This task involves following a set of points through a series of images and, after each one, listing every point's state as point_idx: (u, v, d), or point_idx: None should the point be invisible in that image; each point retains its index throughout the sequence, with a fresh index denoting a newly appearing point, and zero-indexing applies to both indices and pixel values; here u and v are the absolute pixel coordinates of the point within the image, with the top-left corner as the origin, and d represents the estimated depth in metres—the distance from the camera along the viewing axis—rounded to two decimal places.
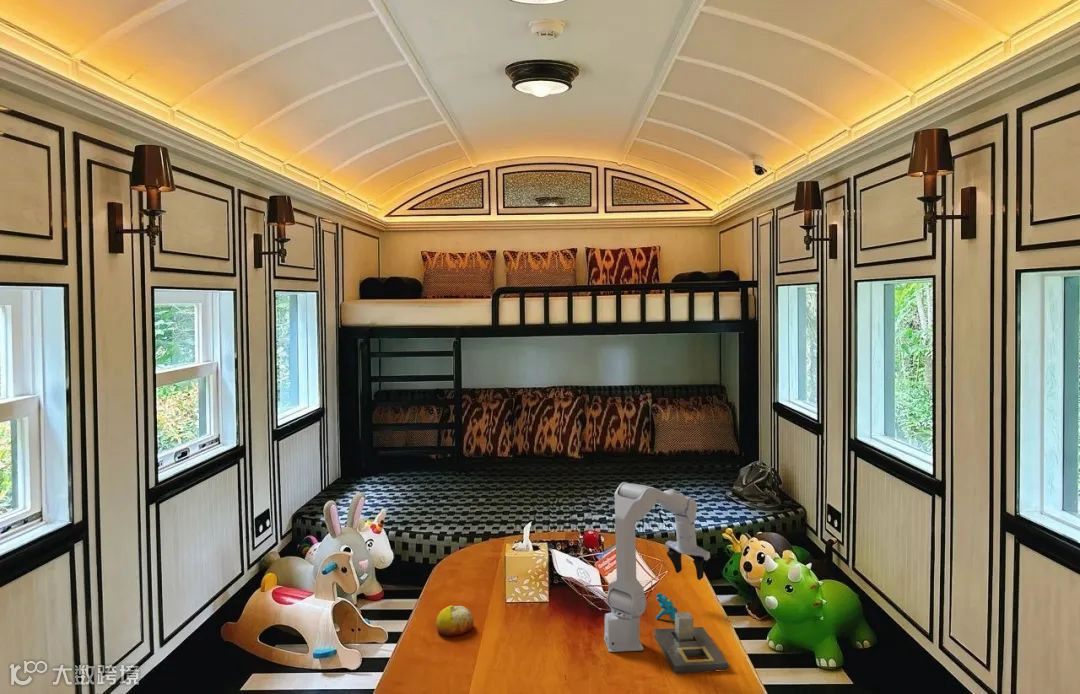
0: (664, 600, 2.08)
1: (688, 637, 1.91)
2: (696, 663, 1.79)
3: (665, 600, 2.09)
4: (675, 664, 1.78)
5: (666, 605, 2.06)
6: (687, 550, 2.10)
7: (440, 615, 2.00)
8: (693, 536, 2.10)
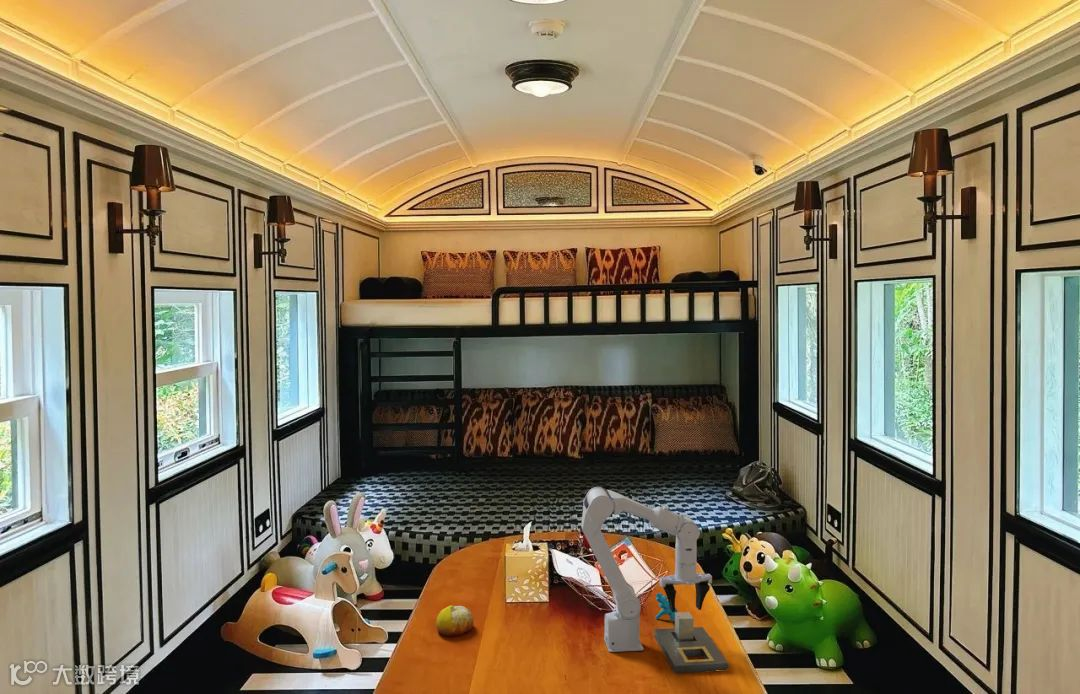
0: (664, 600, 2.08)
1: (688, 637, 1.91)
2: (696, 663, 1.79)
3: (665, 600, 2.09)
4: (675, 664, 1.78)
5: (665, 605, 2.06)
6: None
7: (440, 615, 2.00)
8: (675, 561, 1.92)
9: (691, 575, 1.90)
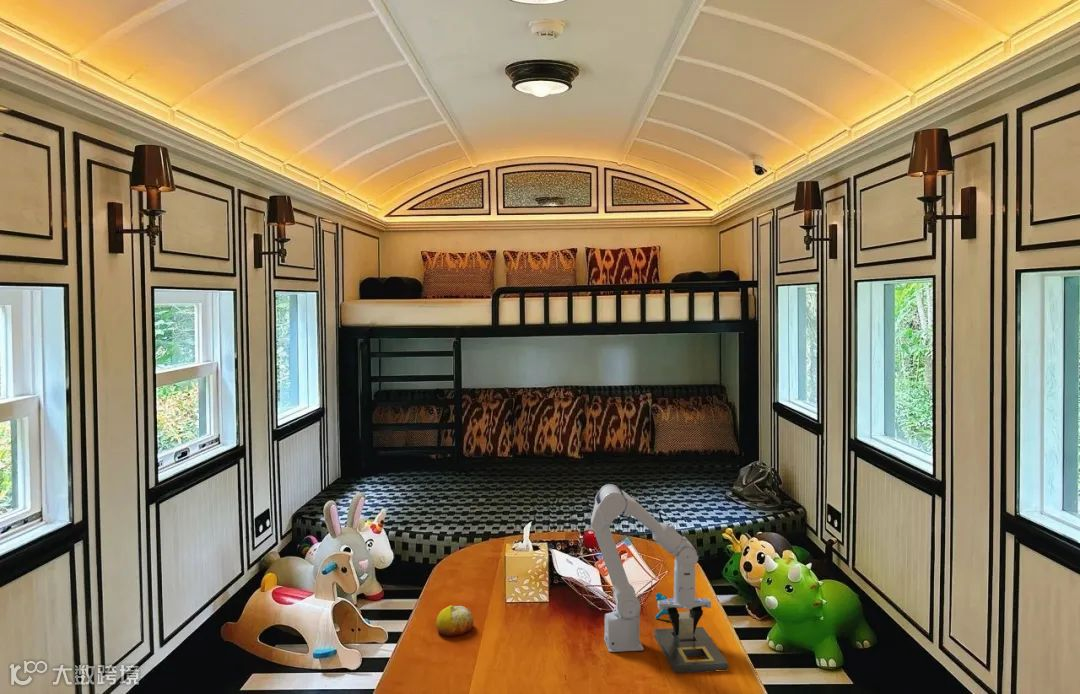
0: None
1: (688, 637, 1.91)
2: (696, 663, 1.79)
3: None
4: (675, 664, 1.78)
5: None
6: None
7: (440, 615, 2.00)
8: (674, 585, 1.92)
9: (688, 600, 1.90)
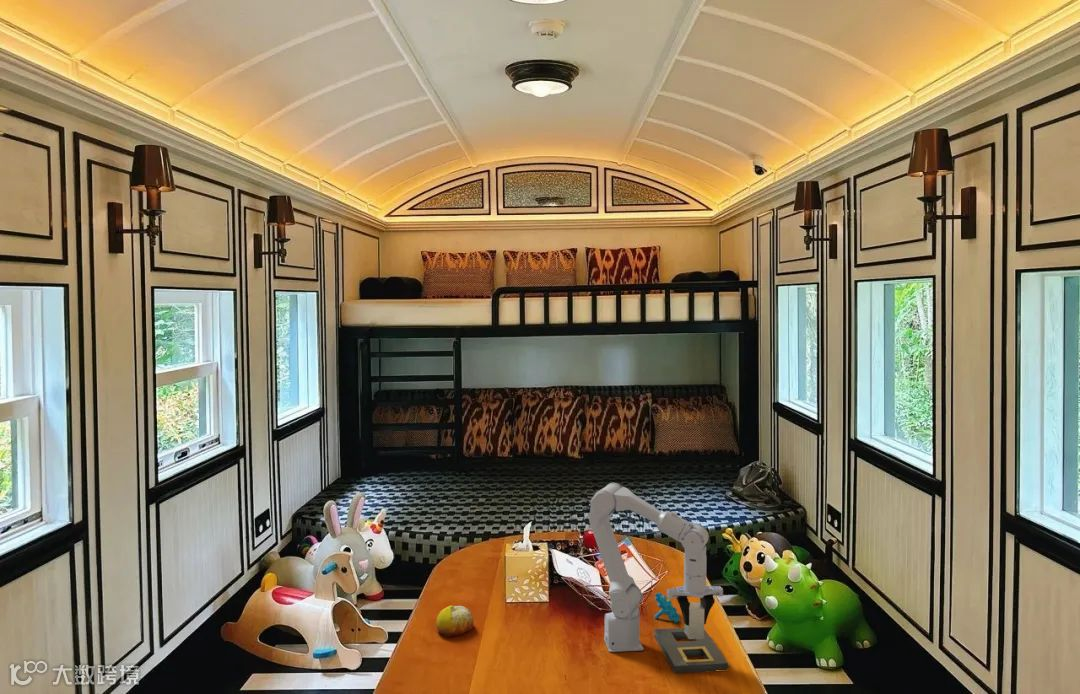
0: (663, 600, 2.08)
1: (698, 629, 1.82)
2: (696, 663, 1.79)
3: (664, 600, 2.09)
4: (675, 664, 1.78)
5: (664, 605, 2.06)
6: None
7: (440, 615, 2.00)
8: (684, 572, 1.83)
9: (700, 588, 1.80)
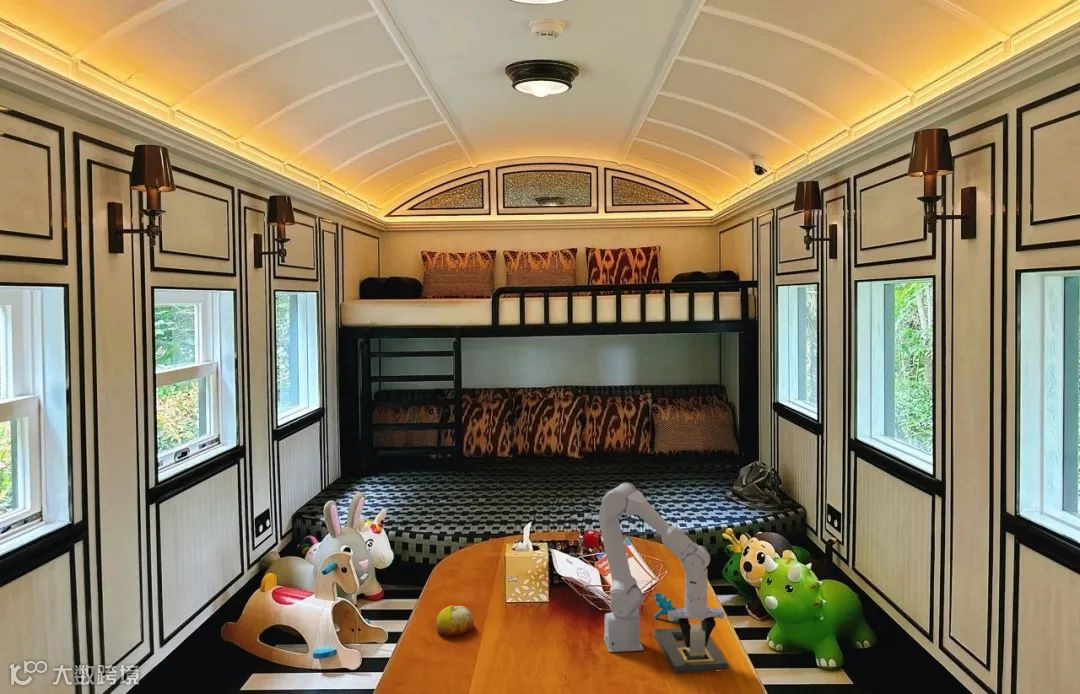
0: (662, 599, 2.08)
1: (699, 651, 1.81)
2: (696, 663, 1.79)
3: (663, 600, 2.09)
4: (675, 664, 1.78)
5: (664, 604, 2.06)
6: None
7: (440, 615, 2.00)
8: (685, 595, 1.82)
9: (701, 610, 1.79)
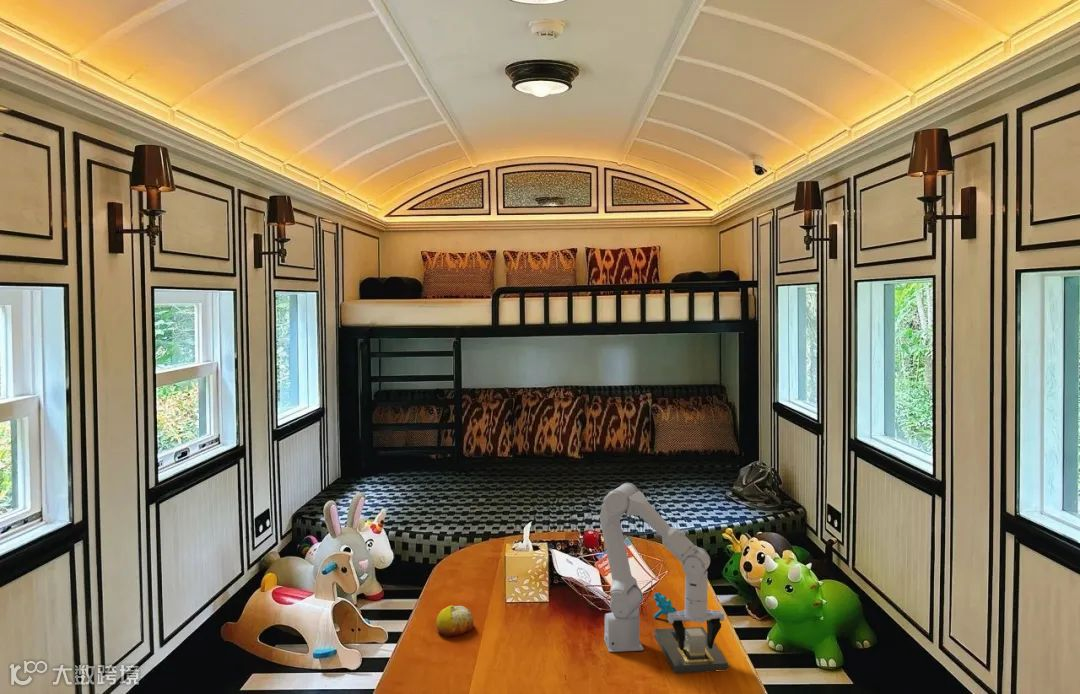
0: (662, 599, 2.08)
1: (699, 655, 1.81)
2: (696, 663, 1.79)
3: (663, 599, 2.09)
4: (675, 664, 1.78)
5: (663, 604, 2.06)
6: None
7: (440, 615, 2.00)
8: (685, 597, 1.82)
9: (700, 612, 1.80)
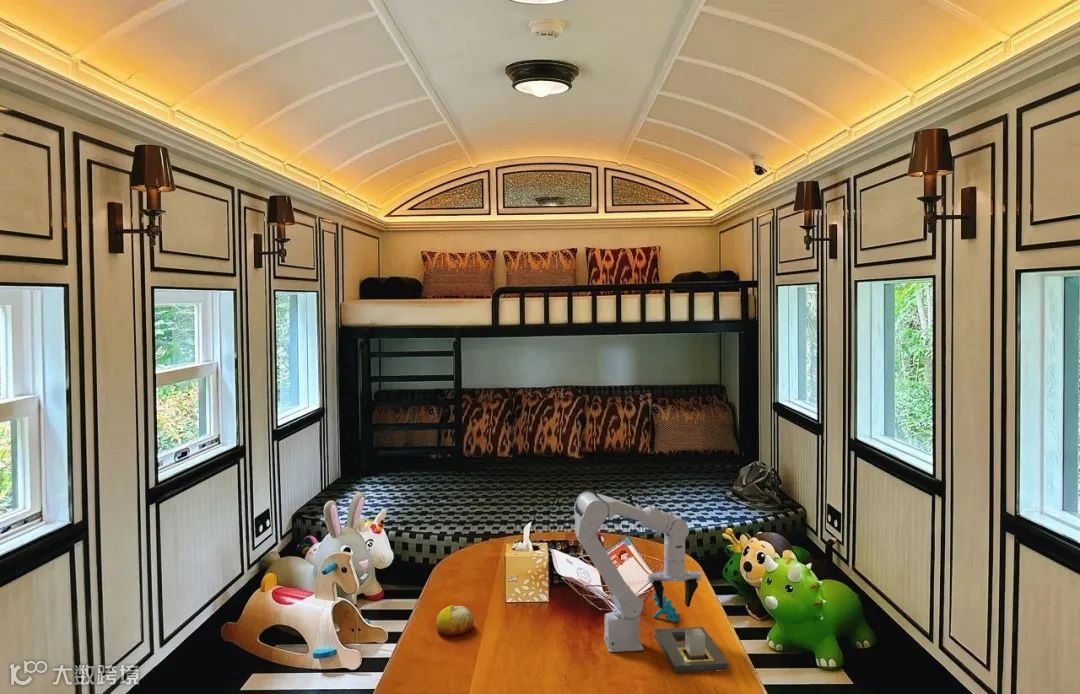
0: None
1: (699, 655, 1.81)
2: (696, 663, 1.79)
3: (663, 599, 2.09)
4: (675, 664, 1.78)
5: (663, 604, 2.06)
6: None
7: (440, 615, 2.00)
8: (664, 558, 1.94)
9: (678, 572, 1.92)
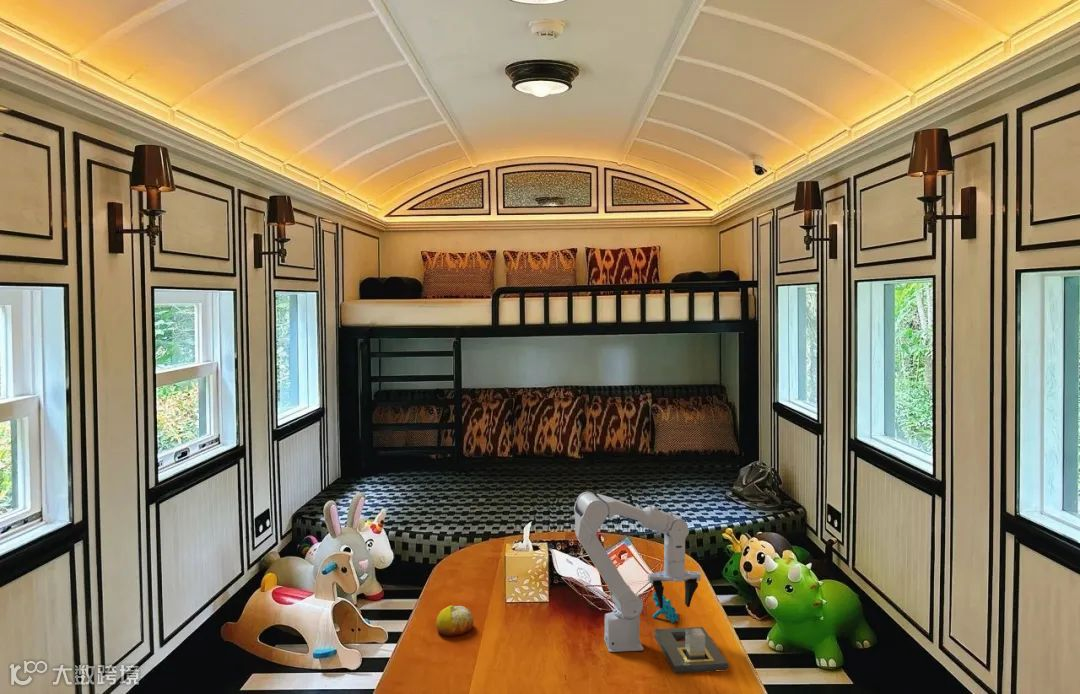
0: None
1: (699, 655, 1.81)
2: (696, 663, 1.79)
3: None
4: (675, 664, 1.78)
5: None
6: None
7: (440, 615, 2.00)
8: (664, 558, 1.94)
9: (678, 572, 1.92)
